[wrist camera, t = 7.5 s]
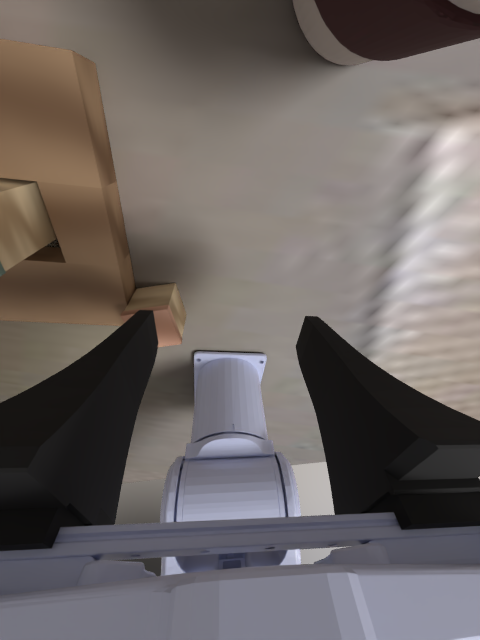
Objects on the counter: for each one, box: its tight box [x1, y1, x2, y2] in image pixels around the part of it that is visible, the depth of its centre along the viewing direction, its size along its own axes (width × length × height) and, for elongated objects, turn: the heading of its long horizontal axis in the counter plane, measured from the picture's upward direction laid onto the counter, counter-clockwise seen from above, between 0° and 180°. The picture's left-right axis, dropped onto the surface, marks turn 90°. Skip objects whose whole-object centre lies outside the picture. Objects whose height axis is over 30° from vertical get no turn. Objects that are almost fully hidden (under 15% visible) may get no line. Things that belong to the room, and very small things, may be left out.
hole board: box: [0, 39, 136, 326], centre depth 16 cm, size 16×12×2 cm
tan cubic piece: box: [121, 283, 186, 347], centre depth 21 cm, size 4×4×4 cm
